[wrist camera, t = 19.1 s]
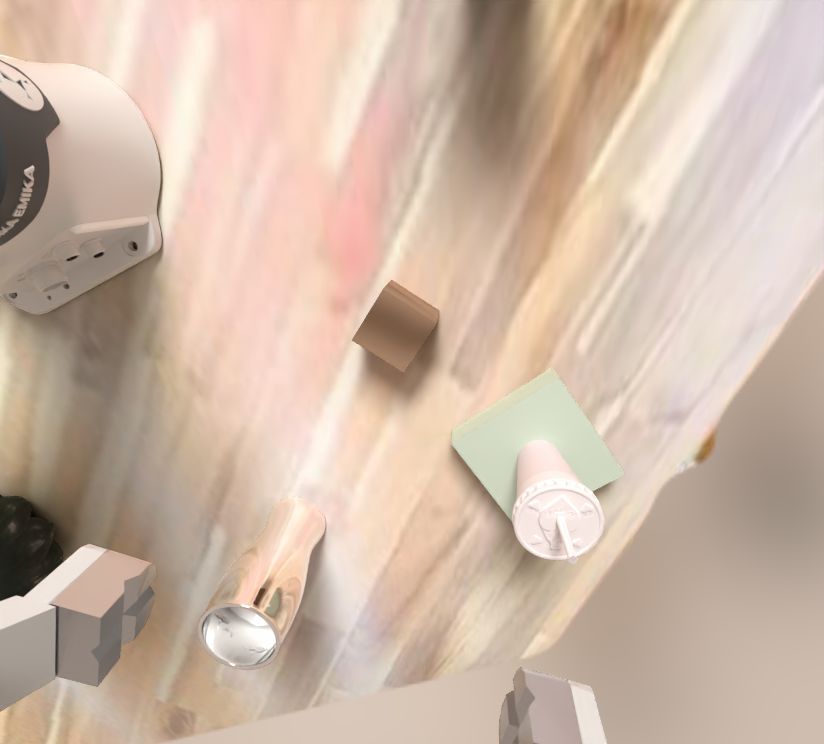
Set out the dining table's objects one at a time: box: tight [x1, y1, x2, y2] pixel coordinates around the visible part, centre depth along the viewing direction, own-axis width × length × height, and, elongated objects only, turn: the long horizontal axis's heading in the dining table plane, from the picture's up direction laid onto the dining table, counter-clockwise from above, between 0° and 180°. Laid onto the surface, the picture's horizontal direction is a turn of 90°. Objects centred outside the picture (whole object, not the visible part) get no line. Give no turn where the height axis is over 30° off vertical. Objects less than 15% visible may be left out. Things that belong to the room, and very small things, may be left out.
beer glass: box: [198, 497, 326, 670], centre depth 45 cm, size 7×7×15 cm
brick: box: [352, 280, 439, 373], centre depth 42 cm, size 5×5×5 cm
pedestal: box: [452, 367, 625, 521], centre depth 46 cm, size 11×11×3 cm
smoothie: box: [512, 440, 604, 563], centre depth 38 cm, size 6×6×14 cm
